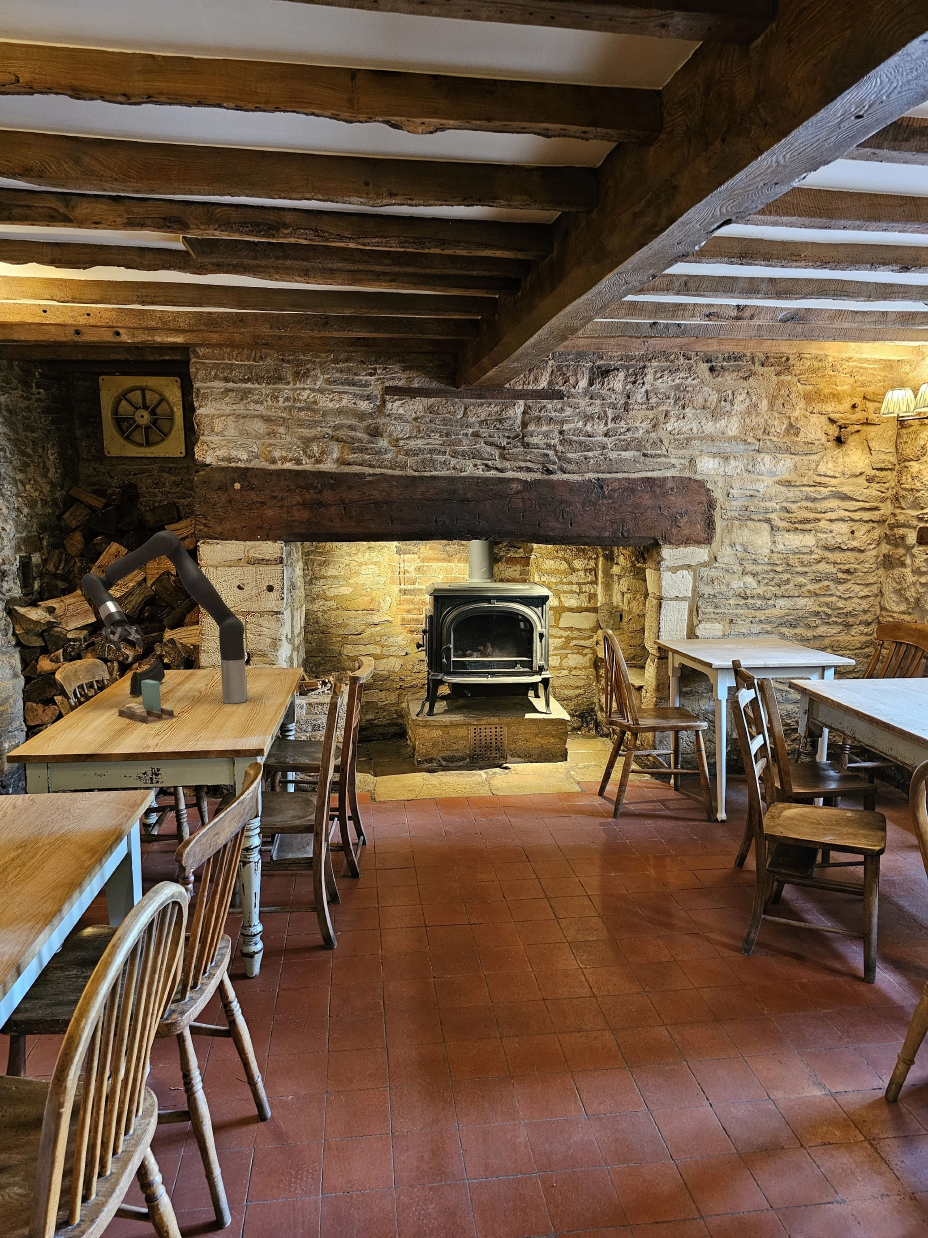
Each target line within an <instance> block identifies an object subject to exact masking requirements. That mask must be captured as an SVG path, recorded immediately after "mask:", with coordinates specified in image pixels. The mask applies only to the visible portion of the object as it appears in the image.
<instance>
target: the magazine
mask: <svg viewBox="0 0 928 1238" xmlns="http://www.w3.org/2000/svg"><path fill="white" fill-rule="evenodd" d="M165 677H166V674H165V668H164V665H163V663H161V660H160V659H159V658H158V659H155V660H154V661H153V662H152V664H150V666H149V667H147V668H145V669H143V670H141V671H133V672H132V675H131V677H130V685H129V686H130V687H129V695H130V696H139V695H142V685H141V681H144V680H153V681H157V682H160V683H162V681H163V680H164V679H165Z"/></svg>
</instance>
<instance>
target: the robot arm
mask: <svg viewBox="0 0 928 1238" xmlns="http://www.w3.org/2000/svg"><path fill="white" fill-rule="evenodd" d="M161 557H166V558H167V560H168V561H169V562H170V563H171V564H172V565H173V566H174V568H175V571H176V572H177V574H178V577H179V579H180V581H181V584H182V586H183V587H184V589H185V590H186V592H187V593H188V594H189V595H190V597H191V599H192V600H193V601H194V602H195V603H197V604H198V606H200V607H201V608H202V609H203V610H204V611H206V612H207V613H208V614H209V615H210V617H211V618H212V619H213V621H214V622H215V624H216V625H217V626H218V642H219V643H218V644H219V653H220V667H221V669H220V671H221V692H222V693H221V696H222V697H221V698H222V703H225V704H239V703H246V702H247V700H248V680H247V679H248V678H247V675H246V654H245V644H244V643H245V641H244V634H245V626H244V623H243V622H242V621H241V620H240V618H239V617H237V616H236V614H235V613H234V611H232V610H231V609H230V608H229V607H228V605H227V604H226V602H225V601H224V599H223V598H222V597H221V595H220V593H219V592H218V591H217V589H216V588H215V587H214V585H213V583H212V582H211V581H210V579H209V578H208V577H207V575H206V574H205V573H204V572H203V571H202V570H201V568H200V567H199V565H198V564H197V563H196V562H195V561H194V560H193V558H192V557H191V556H190V555H189V553H188V552H187V550H186V548H185V546H184V545H183V543H182V542H181V540H180V539H179V537H178V535H177V534H175V532H173V531H171V530H160V531H159V532H156V533H155V534H154V535H153V536H151V537H150V538H149V539H148V540H147V541H146V542H144V543H143V544H142V545H141V546H139V547H138V548H136V549H135V550H133V551H131V552H130V553H128V554H126V555H124V556H123V557H120V558H119V559H116V561H114V562H112V563H110V564H109V565H107V566H106V567H104V570H103V571H104V572H103V573H104V575H102V576H100V575H99V574H97V573H94V572H88V573H86V574H85V575H83V577H82V579H81V586H82V588H83V590H84V591H85V593H86V594H87V595H88V596H89V598H90V599H91V600H92V601H93V603H94V604H95V606H96V608H97V610H98V612H99V614H100V617H101V619H102V621H103V622H104V624H105V626H106V627H104V628H103V629H102V632H101V635H102V637H103V639H104V641H105V644H107V645H110V644H111V645H113V647H114V649H115V651H116V652H118V653H121V652H122V650H123V647H122V646H121V644H120V642H119V640H121V639H130V640H132V641H134V642H135V644H136V645H137V648H138V649H139V650H142V649H143V648H144V642H143V640H142V639H143V638H144V637H145V634H144V632H143V631H142V629H141V627H140V626H139V624H137V623H136V624H134V625H132V626H131V625H130V624H129V622H128V619H127V617H126V615H125V613H124V612H123V610H122V609H121V606H120V605H119V604H118V603H117V601H116V599H115V597H114V596H113V594H112V593H111V592H110V591H111V589H112V588H113V587H115V585H116V584H117V583H118V582H120V581H122V580H123V579H125V578H127V577H128V576H129V575H131V574H133V573H134V572H136V571H137V570H138V569H140V568H141V567H142V566H144V565H145V564H147V563H149V562H152V561H153V560H156V559H159V558H161ZM111 635H112V636H113V638H112V636H111ZM118 639H119V640H118Z"/></svg>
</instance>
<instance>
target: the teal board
mask: <svg viewBox="0 0 928 1238" xmlns="http://www.w3.org/2000/svg"><path fill="white" fill-rule="evenodd" d="M141 685H142V694H141V700H142V704H141V705H142V706H144V708H145V709H149V710H153V711H157V712H161V707H162V705H161V688H160V687H161V686H160V685H161V682H157V681H153V680H144V681H141Z"/></svg>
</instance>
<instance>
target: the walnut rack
mask: <svg viewBox="0 0 928 1238" xmlns="http://www.w3.org/2000/svg"><path fill="white" fill-rule="evenodd" d="M144 710H146V714H147V716H144V715H141V714H137V713H133V712H130V711H126V709H121V708H118V709H117V712H118V713H117V715H116V716H117V717H121V718H123V719H124V718H125V719H128V720H132V721H135V722H138V723H142V724H145V725H150V724H151V725H152V724H155V723H159V722H163V721H168V720H173V719H177V718H181V716H179V715H176V714H175V713H174V711H175V710H173V709H169V708H165V707H162V706H161V712H157V711H153V710H149V709H145V708H144Z"/></svg>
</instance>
